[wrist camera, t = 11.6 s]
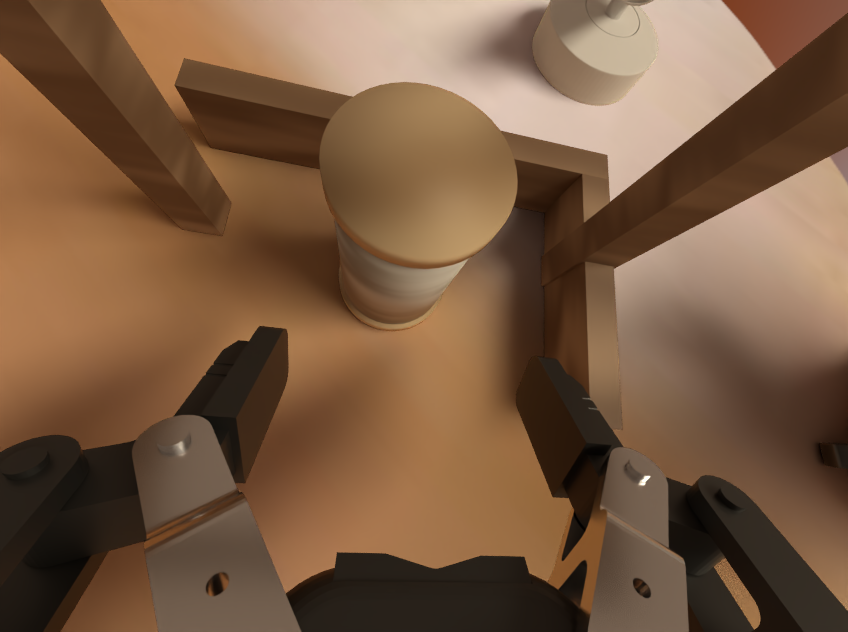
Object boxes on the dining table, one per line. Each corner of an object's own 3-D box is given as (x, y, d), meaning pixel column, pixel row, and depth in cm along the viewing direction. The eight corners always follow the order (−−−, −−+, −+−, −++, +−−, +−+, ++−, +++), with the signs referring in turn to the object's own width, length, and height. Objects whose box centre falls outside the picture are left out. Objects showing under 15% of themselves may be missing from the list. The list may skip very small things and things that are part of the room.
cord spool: (319, 264, 19) (278, 123, 9) (405, 218, 21) (445, 58, 11) (376, 351, 18) (395, 296, 9) (460, 297, 20) (553, 201, 10)
